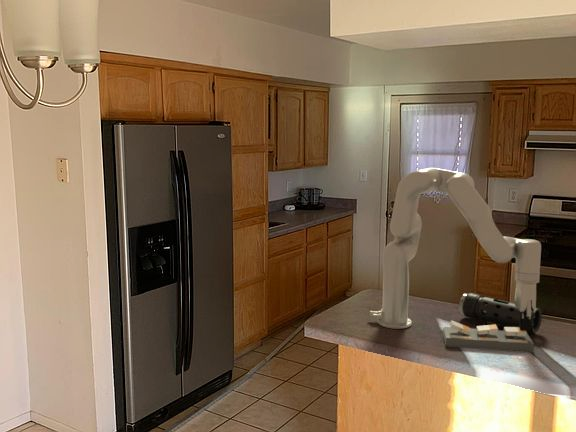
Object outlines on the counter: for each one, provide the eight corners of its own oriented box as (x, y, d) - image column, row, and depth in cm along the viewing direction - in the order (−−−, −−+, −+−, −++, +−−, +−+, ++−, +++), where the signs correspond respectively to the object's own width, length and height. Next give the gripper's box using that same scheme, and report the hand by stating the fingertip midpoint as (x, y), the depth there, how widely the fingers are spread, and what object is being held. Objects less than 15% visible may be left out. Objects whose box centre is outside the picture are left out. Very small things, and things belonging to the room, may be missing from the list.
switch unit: (445, 346, 194) (446, 335, 193) (442, 334, 205) (443, 324, 204) (533, 352, 189) (534, 341, 188) (525, 340, 200) (526, 330, 199)
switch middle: (478, 334, 194) (478, 330, 194) (476, 329, 199) (476, 325, 199) (498, 332, 193) (498, 328, 193) (496, 328, 198) (495, 323, 198)
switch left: (451, 328, 196) (452, 324, 195) (449, 323, 200) (451, 319, 200) (468, 335, 195) (470, 331, 195) (467, 330, 200) (468, 326, 199)
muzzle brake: (530, 339, 201) (533, 310, 200) (457, 320, 220) (458, 294, 219) (540, 332, 208) (543, 305, 206) (468, 314, 227) (470, 289, 225)
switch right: (506, 335, 193) (506, 331, 193) (503, 330, 197) (503, 326, 197) (526, 335, 192) (526, 331, 191) (523, 330, 196) (523, 326, 196)
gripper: (510, 270, 199) (508, 321, 202) (520, 281, 184) (517, 336, 187) (533, 271, 198) (530, 322, 200) (545, 282, 183) (541, 337, 186)
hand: (524, 329), depth 194 cm, fingers closed
